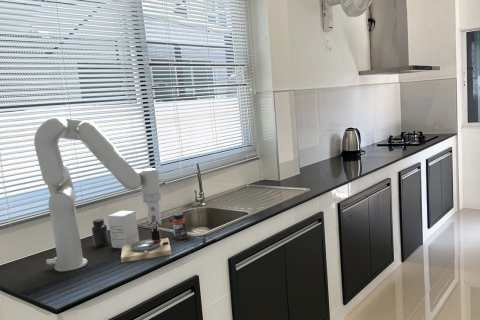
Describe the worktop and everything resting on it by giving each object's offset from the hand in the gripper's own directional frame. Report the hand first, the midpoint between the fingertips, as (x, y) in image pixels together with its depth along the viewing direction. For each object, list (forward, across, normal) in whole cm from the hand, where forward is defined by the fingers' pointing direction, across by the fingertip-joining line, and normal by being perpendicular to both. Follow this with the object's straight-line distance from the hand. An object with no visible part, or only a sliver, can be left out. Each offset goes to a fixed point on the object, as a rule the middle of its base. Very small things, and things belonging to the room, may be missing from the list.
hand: (155, 237), depth 190 cm
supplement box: (+6, +15, +14) cm, 21 cm away
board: (+6, 0, +4) cm, 7 cm away
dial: (+4, 0, +4) cm, 6 cm away
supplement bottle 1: (+6, +21, +24) cm, 33 cm away
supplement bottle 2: (+6, +13, -12) cm, 18 cm away
